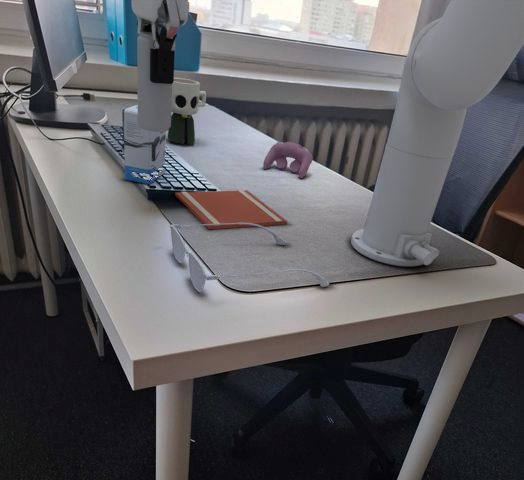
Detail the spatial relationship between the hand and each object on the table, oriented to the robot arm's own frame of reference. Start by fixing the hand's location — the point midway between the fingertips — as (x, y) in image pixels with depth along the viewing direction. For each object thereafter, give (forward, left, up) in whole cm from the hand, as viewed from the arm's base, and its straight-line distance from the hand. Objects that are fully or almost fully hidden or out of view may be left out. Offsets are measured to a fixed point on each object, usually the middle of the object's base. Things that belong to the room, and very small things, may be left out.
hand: (155, 77), depth 72 cm
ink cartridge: (+32, -6, -19) cm, 38 cm away
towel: (-2, -13, -19) cm, 23 cm away
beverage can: (0, 0, -7) cm, 7 cm away
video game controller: (+18, -36, -19) cm, 44 cm away
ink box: (+16, -4, -19) cm, 25 cm away
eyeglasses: (-23, -6, -19) cm, 31 cm away
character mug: (+40, -20, -19) cm, 49 cm away
